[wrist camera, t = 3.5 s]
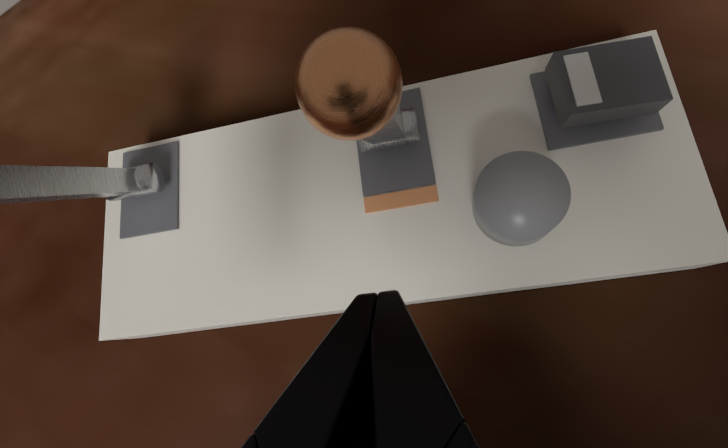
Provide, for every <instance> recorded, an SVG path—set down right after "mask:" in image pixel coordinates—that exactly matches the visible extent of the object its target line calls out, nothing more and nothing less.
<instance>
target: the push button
mask: <svg viewBox="0 0 728 448" xmlns="http://www.w3.org/2000/svg"><path fill="white" fill-rule="evenodd" d="M570 202H571V189H570V184H569V181H568V179H567V177H566V175H565V173H564V172H563V170H562V169H561V168H560V167H559V166H558V165H557V164H556V163H555V162H554V161H553V160H551V159H549V158H548V157H546V156H544V155H541V154H539V153H535V152H531V151H514V152H509V153H505V154H503V155H500V156H498V157H496V158H495V159H493V160H492V161H491V162H489V163H488V164H487V165H486V166H485V167H484V169H483V170H482V171H481V173H480V175H479V177H478V179H477V182H476V186H475V192H474V197H473V204H472V209H473V215H474V219H475V221H476V223H477V225H478V227H479V228H480V229H481V231H482V232H483V233H484V234H485V235H486V236H487V237H489V238H490V239H492V240H493V241H495V242H497V243H500V244H503V245H507V246H525V245H529V244H532V243H535V242H537V241H539V240H540V239H542V238H543V237H544V236H546V235H547V234H548V233H549V232H550V231H551V230H552V229H554V228H555V227H556V226H557V225H558V224H559V223H560V222H561V221H562V220H563V218H564V217H565V215H566V214H567V211H568V209H569V206H570Z"/></svg>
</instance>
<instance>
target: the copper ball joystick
mask: <svg viewBox="0 0 728 448" xmlns="http://www.w3.org/2000/svg"><path fill="white" fill-rule="evenodd" d="M402 88H403V80H402V72H401V68H400V65H399V62H398V60H397V58H396V56H395V54H394V52H393V51H392V50H391V48H390V47H389V46H388V45H387V43H386V42H385V41H384V40H382V39H381V38H380V37H378V36H377V35H375V34H374V33H372V32H370V31H368V30H365V29H362V28H358V27H339V28H334V29H331V30H328V31H326V32H324V33H322V34H321V35H319V36H318V37H316V38H315V39H314V40H313V41H312V42H311V43H310V44H309V45H308V46H307V48H306V49H305V50H304V52H303V54H302V56H301V57H300V60H299V62H298V65H297V69H296V74H295V92H296V97H297V101H298V104H299V106H300V109H301V110H302V112H303V114H304V116H305V117H306V119H307V120H308V121H309V122H310V123H311V125H312V126H313V127H315V128H316V129H317V130H318V131H320V132H321V133H323V134H325V135H327V136H329V137H331V138H334V139H338V140H344V141H355V140H358V142H359V146H360V149H361V151H362V152H366V151H371V150H376V149H381V148H386V147H391V146H396V145H402V144H407V143H412V142H417V141H420V136H419V130H418V123H417V117H416V112H415V106H414V107H409V108H405V109H400V106H399V104H400V100H401V96H402Z"/></svg>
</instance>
